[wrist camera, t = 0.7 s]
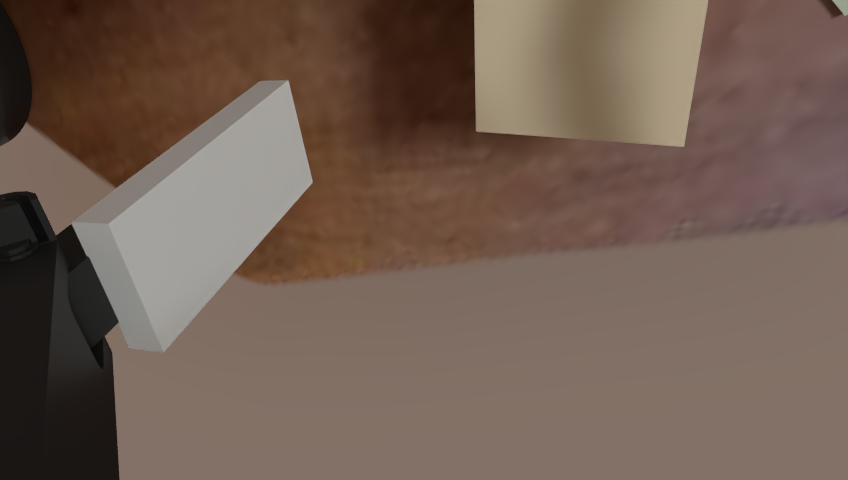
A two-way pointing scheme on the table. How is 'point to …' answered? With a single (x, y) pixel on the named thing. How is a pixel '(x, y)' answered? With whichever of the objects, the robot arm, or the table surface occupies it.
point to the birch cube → (587, 68)
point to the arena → (842, 5)
